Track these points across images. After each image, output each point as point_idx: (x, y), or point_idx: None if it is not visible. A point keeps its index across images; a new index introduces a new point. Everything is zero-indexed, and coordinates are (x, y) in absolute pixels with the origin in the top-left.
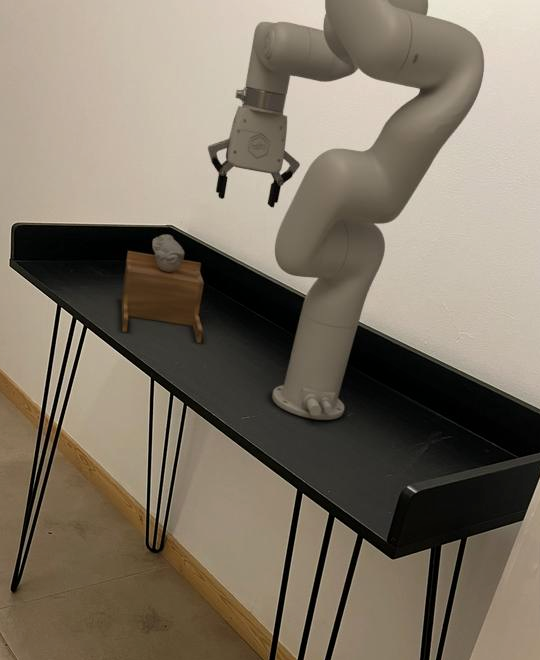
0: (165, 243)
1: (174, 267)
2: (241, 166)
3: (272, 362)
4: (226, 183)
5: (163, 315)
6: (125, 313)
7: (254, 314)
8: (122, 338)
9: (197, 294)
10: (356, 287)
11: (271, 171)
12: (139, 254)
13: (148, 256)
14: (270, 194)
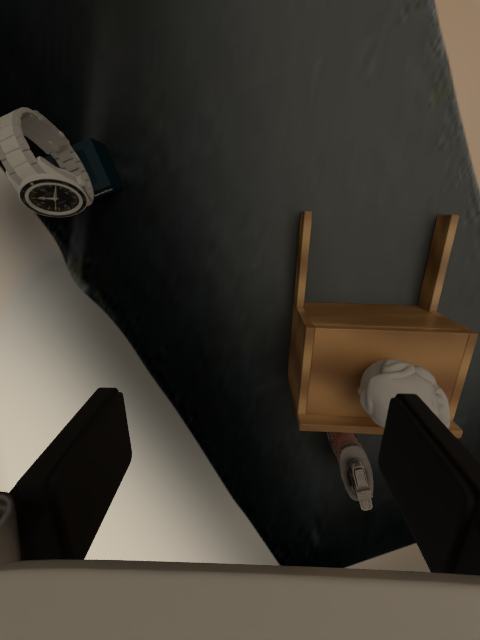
0: (429, 394)
1: (375, 362)
2: (469, 583)
3: (173, 156)
4: (441, 455)
5: (356, 306)
6: (448, 251)
7: (177, 406)
8: (453, 175)
9: (311, 319)
10: None
11: (14, 572)
12: None
13: None
14: (104, 476)
